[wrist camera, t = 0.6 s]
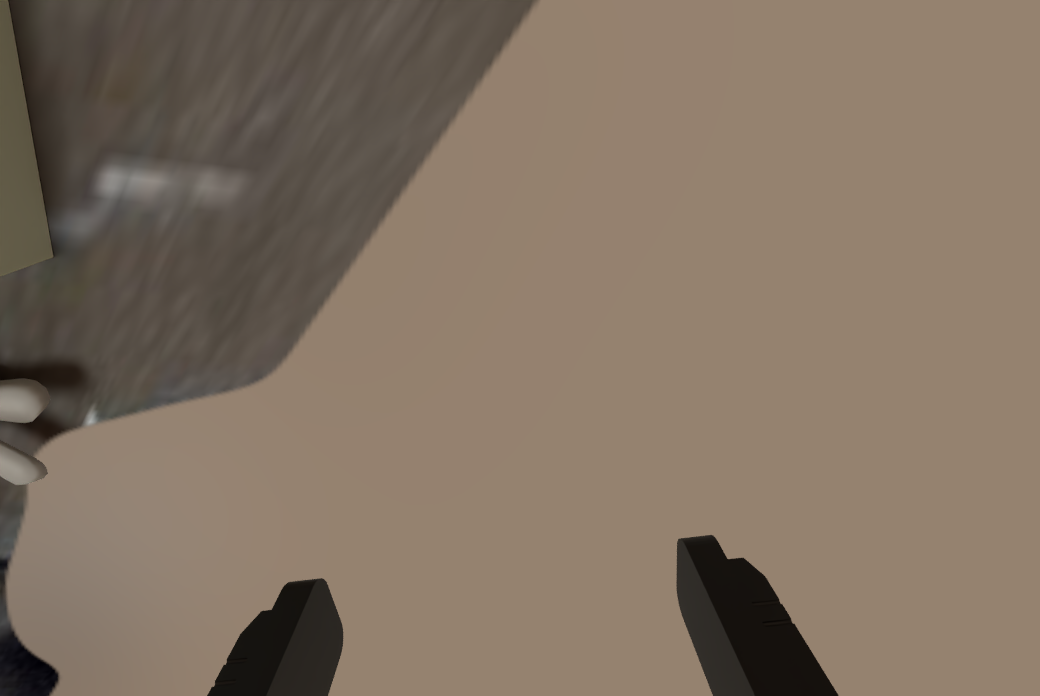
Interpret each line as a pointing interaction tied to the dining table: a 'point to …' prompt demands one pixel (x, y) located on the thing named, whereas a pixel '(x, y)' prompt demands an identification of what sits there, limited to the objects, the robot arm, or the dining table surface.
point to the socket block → (18, 166)
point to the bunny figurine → (22, 406)
